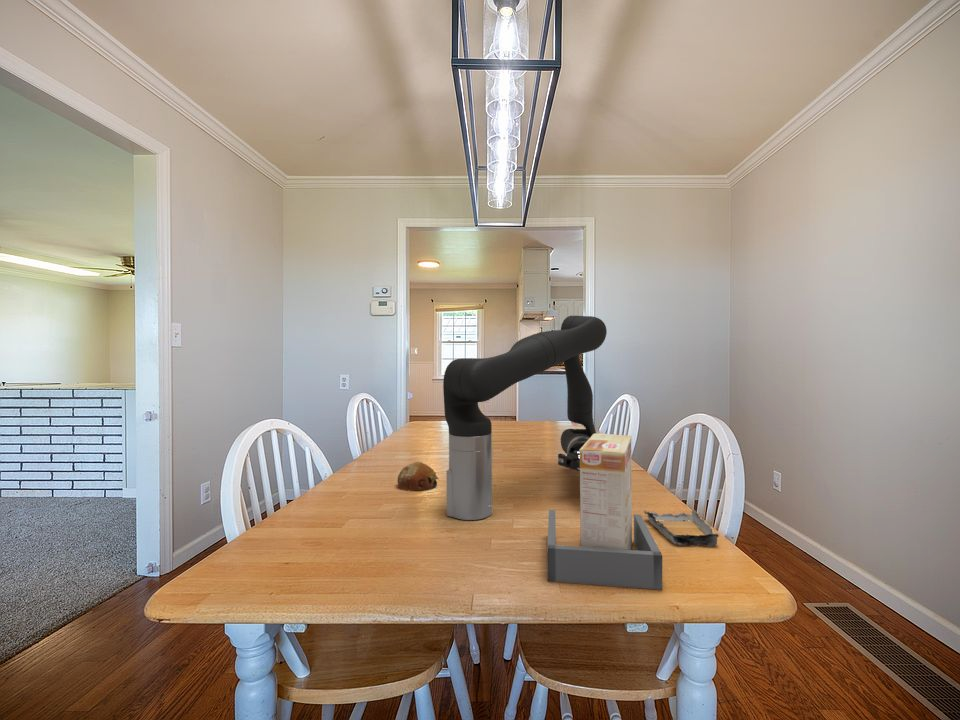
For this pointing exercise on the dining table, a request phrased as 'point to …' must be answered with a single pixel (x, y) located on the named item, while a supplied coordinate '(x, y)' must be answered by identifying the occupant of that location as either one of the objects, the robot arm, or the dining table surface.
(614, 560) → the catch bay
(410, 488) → the bread roll
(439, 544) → the dining table surface
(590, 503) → the coffeecake box
